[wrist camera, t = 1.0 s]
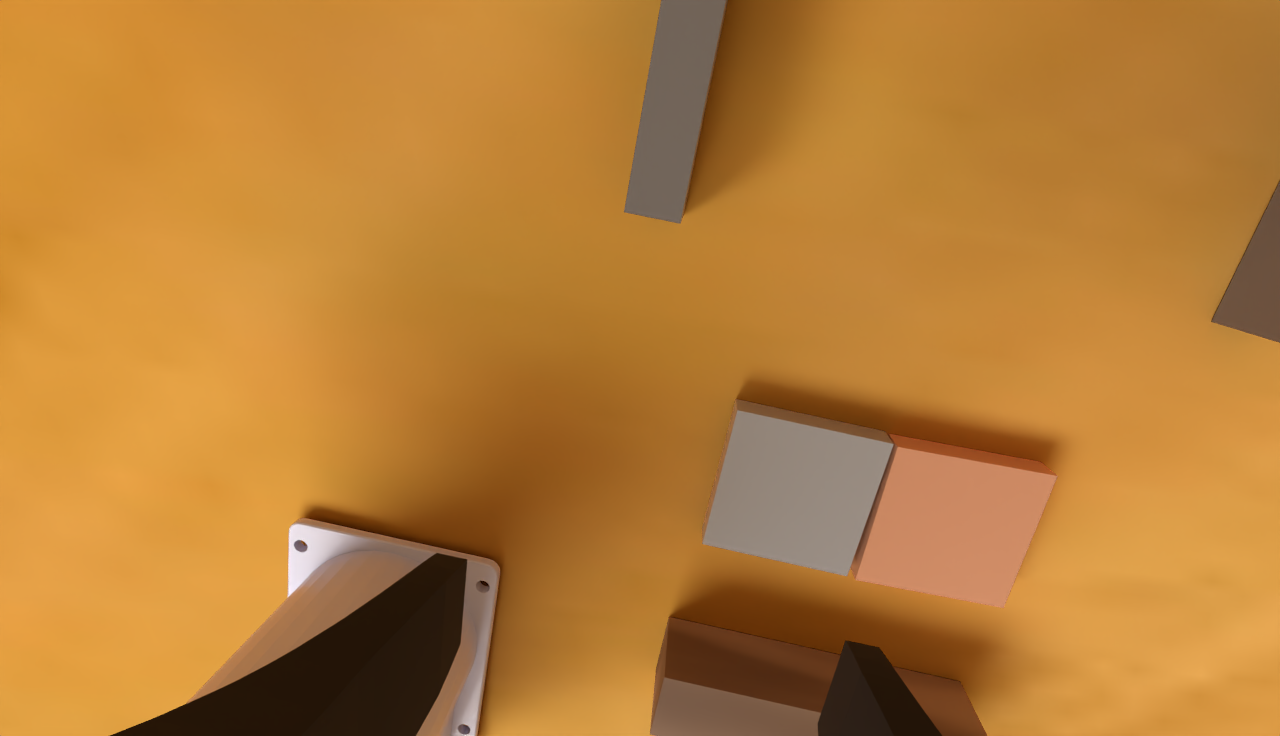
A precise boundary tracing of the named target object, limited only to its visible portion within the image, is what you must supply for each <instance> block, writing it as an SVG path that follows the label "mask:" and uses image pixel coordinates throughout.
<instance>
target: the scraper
mask: <svg viewBox="0 0 1280 736" xmlns="http://www.w3.org/2000/svg"><path fill="white" fill-rule="evenodd" d="M840 656H841V655H839V654H834V653H830V652H825V651H821V650H816V649H812V648H807V647H803V646H798V645H794V644H789V643H785V642H780V641H776V640H771V639H767V638H762V637H758V636H753V635H749V634H744V633H740V632H735V631H731V630H726V629H722V628H717V627H713V626H708V625H704V624H699V623H695V622H691V621H686V620H682V619H677V618H673V617H669V619H668V623H667V627H666V631H665V635H664V639H663V643H662V647H661V651H660V655H659V659H658V663H657V667H656V676H655V686H654V697H653V708H652V718H651V729H650V734H651V735H656V736H818V721H819V718H820V715H821V712H822V709H823V706H824V703H825V700H826V697H827V694H828V691H829V688H830V685H831V682H832V679H833V676H834V673H835V670H836V667H837V664H838V661H839V659H840ZM893 668H894V669H895V670H896V672H897V673H898V675H899V676H900V678H901V679H902V680H903V682H904V683H905V685H906V686H907V687H908V689H909V690H910V692H911V693H912V694H913V696H914V697H915V699H916V700H917V701H918V703H919V704H920V706H921V707H922V708H923V710H924V711H925V713H926V714H927V715H928V717H929V718H930V720H931V721H932V722H933V724H934V725H935V726H936V728H937V729H938V730H939V732H940V733H941V734H942V736H987V734H986V732H985V730H984V728H983V726H982V724H981V722H980V720H979V718H978V716H977V714H976V712H975V710H974V708H973V706H972V704H971V702H970V700H969V698H968V696H967V694H966V692H965V690H964V688H963V686H962V684H961V682H960V681H955V680H951V679H946V678H942V677H937V676H933V675H928V674H924V673H919V672H915V671H910V670H906V669H901V668H897V667H893Z"/></svg>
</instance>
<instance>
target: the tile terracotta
mask: <svg viewBox="0 0 1280 736" xmlns="http://www.w3.org/2000/svg"><path fill="white" fill-rule="evenodd" d="M888 436H889V438H890V439H891V441H892V442H893V444H894V445H893V448H892V451H891V453H890V456H889V459H888V462H887V465H886V468H885V470H884V473H883V476H882V479H881V482H880V485H879V487H878V490H877V493H876V496H875V499H874V502H873V504H872V507H871V510H870V513H869V516H868V519H867V521H866V524H865V527H864V530H863V533H862V536H861V538H860V541H859V544H858V547H857V550H856V553H855V555H854V558H853V561H852V564H851V570H852V572H853V575H854V577H855V580H858V581H864V582H869V583H874V584H880V585H885V586H890V587H895V588H901V589H906V590H911V591H917V592H922V593H927V594H932V595H938V596H943V597H948V598H954V599H959V600H964V601H970V602H975V603H980V604H985V605H991V606H996V607H1001V608H1004V606H1005V603H1006V601H1007V598H1008V596H1009V593H1010V591H1011V589H1012V586H1013V584H1014V581H1015V579H1016V576H1017V574H1018V571H1019V569H1020V567H1021V564H1022V562H1023V559H1024V557H1025V554H1026V552H1027V550H1028V547H1029V545H1030V542H1031V540H1032V537H1033V535H1034V533H1035V530H1036V528H1037V525H1038V523H1039V520H1040V518H1041V516H1042V513H1043V511H1044V508H1045V506H1046V503H1047V501H1048V498H1049V496H1050V494H1051V491H1052V489H1053V486H1054V484H1055V481H1056V479H1057V477H1058V476H1057V475H1056V474H1055V473H1054V472H1052V471H1051V470H1050V469H1049V468H1048V467H1046V466H1045V465H1044V464H1043V463H1042V462H1039V461H1034V460H1028V459H1023V458H1018V457H1012V456H1007V455H1001V454H996V453H991V452H985V451H980V450H975V449H969V448H964V447H958V446H953V445H948V444H942V443H937V442H932V441H926V440H921V439H915V438H910V437H905V436H899V435H894V434H889V433H888Z"/></svg>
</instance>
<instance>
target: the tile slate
mask: <svg viewBox="0 0 1280 736" xmlns="http://www.w3.org/2000/svg"><path fill="white" fill-rule="evenodd" d="M893 445H894V444H893V442H892V441H891V439H890V438H889V436H888V435H887V434H886V432H885V431H881V430H877V429H872V428H868V427H863V426H858V425H854V424H849V423H845V422H840V421H835V420H831V419H826V418H821V417H817V416H812V415H808V414H803V413H798V412H794V411H789V410H785V409H780V408H775V407H771V406H766V405H762V404H757V403H752V402H748V401H743V400H738V399H736V400H735V404H734V408H733V411H732V415H731V419H730V423H729V427H728V430H727V434H726V438H725V442H724V446H723V450H722V453H721V457H720V461H719V465H718V469H717V473H716V476H715V480H714V484H713V488H712V492H711V496H710V499H709V503H708V507H707V511H706V515H705V519H704V522H703V526H702V544H705V545H709V546H714V547H718V548H723V549H727V550H732V551H736V552H741V553H745V554H750V555H754V556H759V557H763V558H768V559H772V560H777V561H781V562H786V563H790V564H795V565H799V566H804V567H808V568H812V569H817V570H821V571H826V572H830V573H835V574H839V575H844V576H847V575H848V572H849V570H850V567H851V564H852V561H853V558H854V555H855V553H856V550H857V547H858V544H859V541H860V538H861V536H862V533H863V530H864V527H865V524H866V521H867V519H868V516H869V513H870V510H871V507H872V504H873V502H874V499H875V496H876V493H877V490H878V487H879V485H880V482H881V479H882V476H883V473H884V470H885V468H886V465H887V462H888V459H889V456H890V453H891V451H892V448H893Z"/></svg>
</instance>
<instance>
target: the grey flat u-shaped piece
mask: <svg viewBox="0 0 1280 736" xmlns="http://www.w3.org/2000/svg"><path fill="white" fill-rule="evenodd" d="M727 2H728V0H661V6H660V11H659V17H658V23H657V28H656V34H655V40H654V45H653V51H652V57H651V62H650V68H649V74H648V79H647V85H646V91H645V96H644V102H643V108H642V113H641V119H640V125H639V130H638V136H637V142H636V147H635V153H634V159H633V164H632V170H631V176H630V182H629V187H628V193H627V199H626V204H625V210H624V212H626V213H631V214H636V215H641V216H646V217H651V218H656V219H661V220H665V221H670V222H675V223H681V221H682V218H683V216H684V211H685V206H686V201H687V197H688V192H689V187H690V182H691V177H692V172H693V167H694V163H695V158H696V153H697V148H698V143H699V138H700V133H701V129H702V124H703V119H704V114H705V109H706V104H707V99H708V94H709V90H710V85H711V80H712V75H713V70H714V65H715V60H716V56H717V51H718V46H719V41H720V36H721V31H722V26H723V22H724V17H725V12H726V7H727ZM1211 322H1214V323H1217V324H1221V325H1224V326H1227V327H1230V328H1234V329H1237V330H1240V331H1244V332H1247V333H1250V334H1253V335H1257V336H1260V337H1263V338H1266V339H1270V340H1273V341H1276V342H1279V343H1280V182H1279V184H1278V186H1277V188H1276V190H1275V192H1274V194H1273V197H1272V199H1271V201H1270V203H1269V205H1268V207H1267V209H1266V211H1265V213H1264V215H1263V217H1262V219H1261V221H1260V223H1259V225H1258V227H1257V229H1256V231H1255V233H1254V235H1253V237H1252V239H1251V242H1250V244H1249V246H1248V248H1247V250H1246V252H1245V254H1244V256H1243V258H1242V260H1241V262H1240V264H1239V266H1238V268H1237V270H1236V272H1235V274H1234V276H1233V278H1232V280H1231V282H1230V285H1229V287H1228V289H1227V291H1226V293H1225V295H1224V297H1223V299H1222V301H1221V303H1220V305H1219V307H1218V309H1217V311H1216V313H1215V315H1214V317H1213V319H1212V321H1211Z"/></svg>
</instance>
